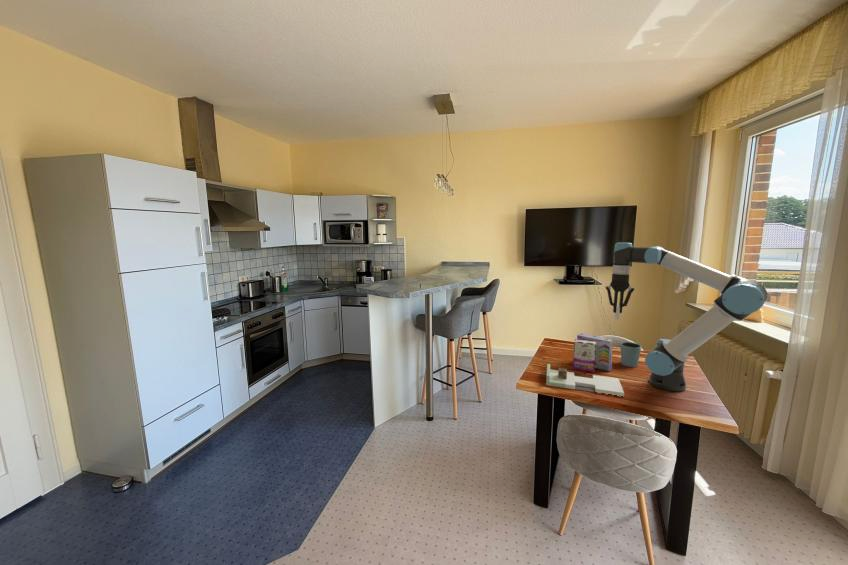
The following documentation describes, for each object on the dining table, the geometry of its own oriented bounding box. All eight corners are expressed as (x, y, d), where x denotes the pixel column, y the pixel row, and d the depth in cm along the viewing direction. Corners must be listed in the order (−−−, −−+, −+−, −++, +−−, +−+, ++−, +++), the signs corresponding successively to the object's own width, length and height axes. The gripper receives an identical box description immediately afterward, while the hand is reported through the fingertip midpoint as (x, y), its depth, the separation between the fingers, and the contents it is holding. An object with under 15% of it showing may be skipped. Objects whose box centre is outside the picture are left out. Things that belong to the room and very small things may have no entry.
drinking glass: (643, 367, 193) (645, 347, 191) (624, 367, 193) (626, 347, 191) (632, 361, 203) (634, 341, 201) (615, 360, 203) (617, 341, 201)
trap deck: (618, 382, 175) (619, 373, 174) (623, 396, 160) (624, 386, 159) (547, 372, 187) (547, 363, 186) (546, 385, 172) (546, 375, 171)
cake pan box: (573, 362, 201) (575, 333, 198) (577, 360, 205) (579, 331, 202) (608, 372, 187) (610, 341, 184) (611, 369, 190) (614, 339, 188)
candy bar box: (594, 369, 191) (596, 341, 188) (594, 372, 186) (596, 344, 184) (573, 365, 196) (575, 338, 193) (572, 369, 192) (574, 341, 189)
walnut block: (566, 376, 178) (566, 368, 177) (566, 379, 174) (566, 371, 173) (558, 374, 179) (558, 367, 179) (558, 378, 176) (558, 370, 175)
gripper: (607, 273, 169) (603, 319, 173) (637, 275, 165) (632, 322, 168) (605, 272, 176) (601, 316, 180) (634, 273, 171) (630, 318, 175)
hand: (616, 319), depth 174 cm, fingers closed
